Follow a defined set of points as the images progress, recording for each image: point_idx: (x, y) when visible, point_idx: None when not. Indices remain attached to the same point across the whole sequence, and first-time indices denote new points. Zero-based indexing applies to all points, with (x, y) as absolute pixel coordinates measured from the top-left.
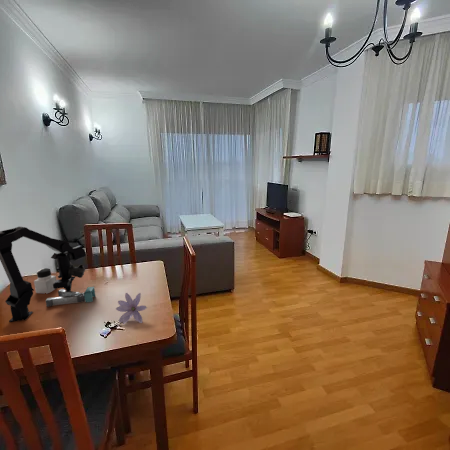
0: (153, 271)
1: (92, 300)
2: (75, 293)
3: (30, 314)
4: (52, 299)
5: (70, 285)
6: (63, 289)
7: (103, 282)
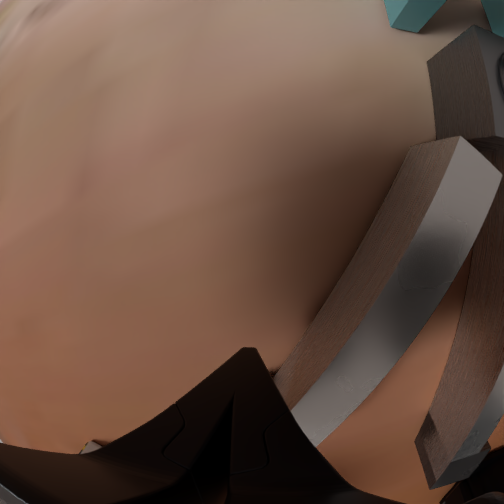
0: None
1: (494, 2)
2: (489, 204)
3: (499, 452)
4: (481, 444)
5: (260, 432)
6: None
7: (20, 47)
